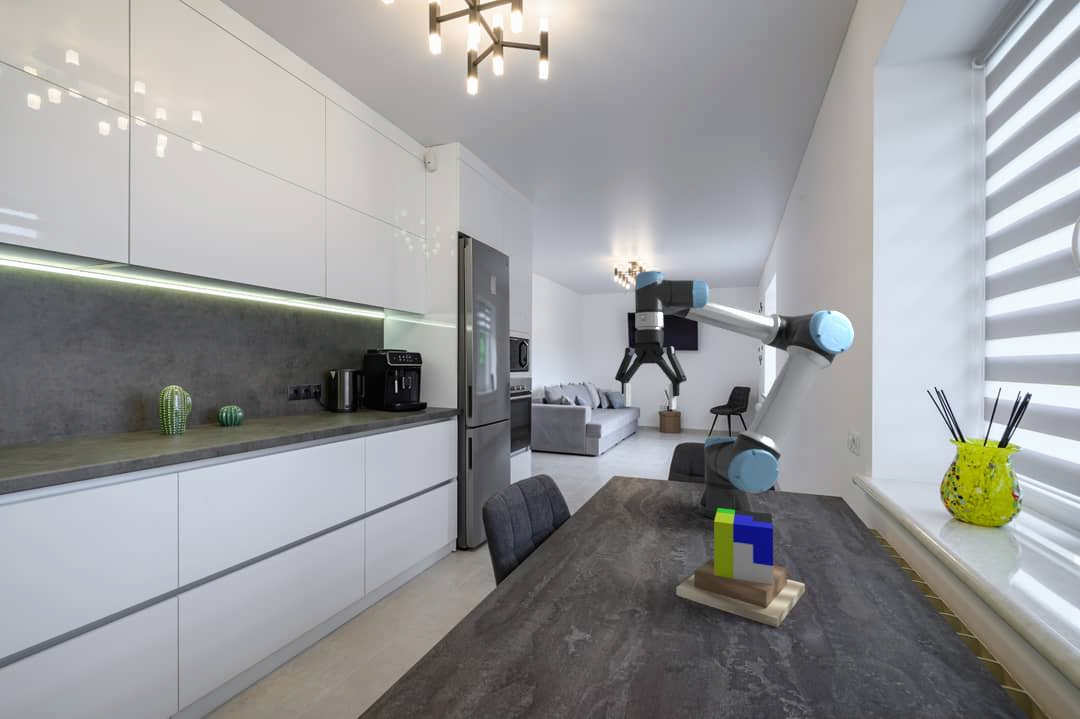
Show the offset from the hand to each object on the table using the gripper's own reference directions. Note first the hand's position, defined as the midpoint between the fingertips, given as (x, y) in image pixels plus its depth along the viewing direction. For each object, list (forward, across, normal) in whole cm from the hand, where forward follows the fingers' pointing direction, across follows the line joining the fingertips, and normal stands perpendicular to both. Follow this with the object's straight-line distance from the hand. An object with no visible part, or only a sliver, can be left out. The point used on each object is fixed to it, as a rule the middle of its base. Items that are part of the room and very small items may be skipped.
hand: (649, 407), depth 134 cm
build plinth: (+33, +32, -23) cm, 51 cm away
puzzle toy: (+28, +32, -23) cm, 49 cm away
